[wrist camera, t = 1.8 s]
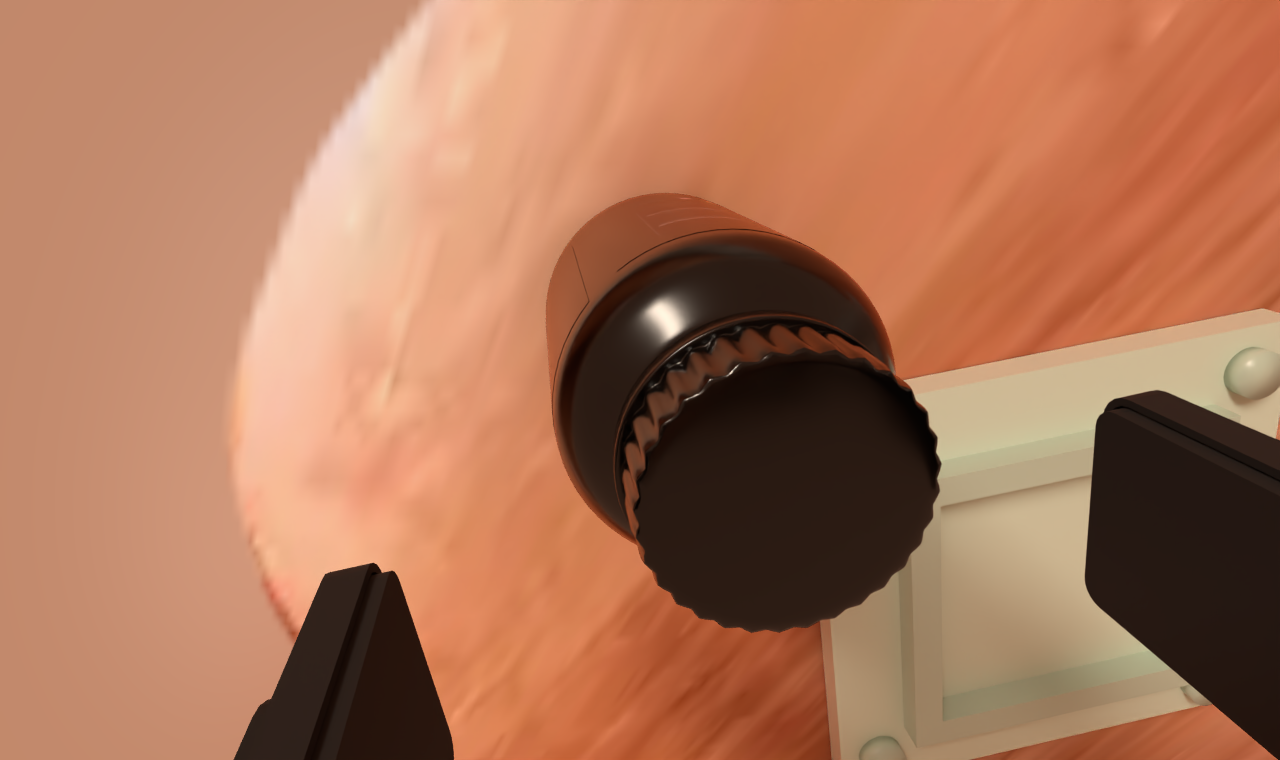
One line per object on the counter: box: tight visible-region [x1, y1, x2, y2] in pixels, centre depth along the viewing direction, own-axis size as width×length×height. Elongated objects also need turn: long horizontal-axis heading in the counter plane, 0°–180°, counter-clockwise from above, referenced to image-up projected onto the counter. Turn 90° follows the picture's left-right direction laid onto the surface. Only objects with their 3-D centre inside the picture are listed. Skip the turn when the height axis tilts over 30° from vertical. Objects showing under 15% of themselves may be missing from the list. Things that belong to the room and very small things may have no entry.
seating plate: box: [820, 308, 1280, 760], centre depth 26 cm, size 16×16×2 cm
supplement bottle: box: [546, 193, 942, 633], centre depth 16 cm, size 7×7×12 cm
